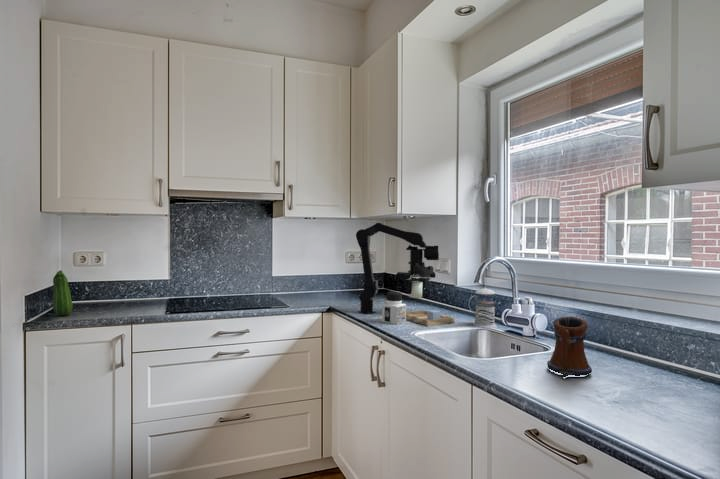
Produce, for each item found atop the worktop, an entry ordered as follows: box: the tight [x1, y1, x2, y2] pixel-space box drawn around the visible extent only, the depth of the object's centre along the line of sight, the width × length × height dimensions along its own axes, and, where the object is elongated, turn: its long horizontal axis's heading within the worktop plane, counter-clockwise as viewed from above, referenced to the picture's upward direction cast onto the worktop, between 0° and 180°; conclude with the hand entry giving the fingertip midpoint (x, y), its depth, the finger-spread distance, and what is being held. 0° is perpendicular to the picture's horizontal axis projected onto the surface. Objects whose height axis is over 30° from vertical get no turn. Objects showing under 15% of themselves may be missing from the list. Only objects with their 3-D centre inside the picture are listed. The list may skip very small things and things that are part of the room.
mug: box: [546, 316, 593, 377], centre depth 123 cm, size 18×12×15 cm, turn 146°
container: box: [381, 290, 407, 325], centre depth 191 cm, size 8×8×13 cm
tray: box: [406, 309, 455, 327], centre depth 195 cm, size 20×14×2 cm
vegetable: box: [52, 270, 74, 317], centre depth 195 cm, size 7×7×20 cm
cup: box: [408, 280, 423, 299], centre depth 207 cm, size 6×6×7 cm
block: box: [426, 309, 442, 320], centre depth 191 cm, size 4×4×4 cm
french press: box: [468, 266, 498, 329], centre depth 187 cm, size 10×12×25 cm
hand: (415, 293), depth 207 cm, fingers closed on cup, 6 cm apart
